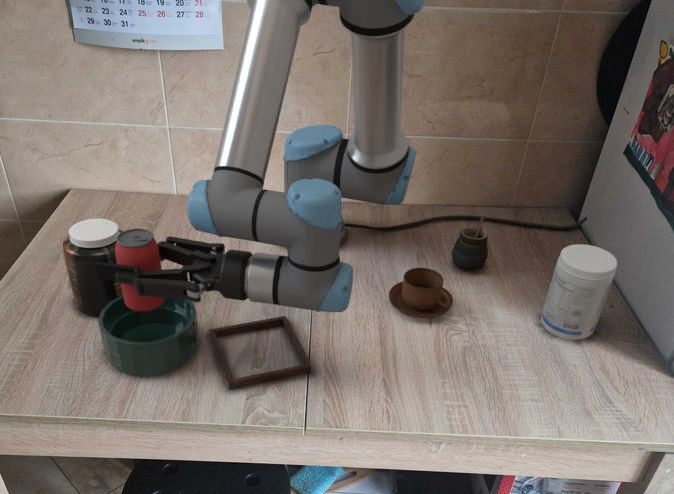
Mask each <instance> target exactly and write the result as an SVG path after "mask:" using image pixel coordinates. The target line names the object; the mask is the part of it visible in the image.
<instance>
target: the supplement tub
mask: <svg viewBox="0 0 674 494" xmlns="http://www.w3.org/2000/svg"><path fill="white" fill-rule="evenodd" d="M617 267H618V260H617V258H616V257H615V255H613V254H612V253H611V252H609V251H608V250H606V249H604V248H601V247H599V246H595V245H591V244H583V243H582V244H581V243H578V244H570V245H568V246H565V247H563V248H562V250H561V251H560V254H559V256H558V258H557V261H556V264H555V268H554V271H553V274H552V278H551V281H550V284H549V288H548V292H547V295H546V298H545V301H544V305H543V309H542V312H541V315H540V322H541V324H542V326H543V328H544V329H545V330H546V331H547V332H549V333H550V334H552V335H553V336H556V337H557V338H560V339H564V340H571V341H578V340H583V339H587V338H588V337H590V336H591V335H592V334H593V333H594V332H595V330H596V327H597V325H598V322H599V319H600V317H601V314H602V311H603V308H604V305H605V302H606V300H607V297H608V295H609V292H610V289H611V287H612V284H613V280H614V278H615V275H616V272H617Z"/></svg>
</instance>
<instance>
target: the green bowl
mask: <svg viewBox="0 0 674 494" xmlns="http://www.w3.org/2000/svg"><path fill="white" fill-rule="evenodd" d="M97 321H98V329H99V332H100V336H101V341H102V346H103V351H104V354H105V358H106V359H107V361H108V362H109V363H110V365H111V366H112V367H114V368H115V369H117V370H119V371H121V372H123V373H126V374H130V375H134V376H155V375H160V374H165V373H169V372H171V371H174V370H176V369H179V368H181V367H183V366H184V365H185V364H186V363H188V362H190V361H191V360H192V359H193V358H194V357H195V355H196V353H197V352H198V350H199V346H200V342H201V341H200V333H199V332H200V331H199V322H198V321H199V320H198V312H197V309H196V306H195V302H192V301H189V300H186V299H176V298H165V301H164V303H163V304H162V305H161V306H160V307H158V308H156V309H154V310H151V311H146V312H139V311H134V310H132V309H130V308H128V307H127V306H126V304H125V302H124V297H123V295H121V296H119V297H118V298H116V299H114V300H113V301H111V302H109V303H108V305H107V306H106V307H105V308H104V309H103V310H102V311H101V314H100V316H99V317H98V319H97Z"/></svg>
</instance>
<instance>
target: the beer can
mask: <svg viewBox="0 0 674 494" xmlns="http://www.w3.org/2000/svg"><path fill="white" fill-rule="evenodd" d="M122 231H123V232H121V233H120V234H119V235H118V236H117V238H116V241H117V242H116V246H115V254H116V260H117V264H119V265H127V266H135V267H139V271H145V270H163V269H162V262H161V261H160V254H159V248H158V244H157V243H158V242H157V241H156V238H155V237H154V236H155V235H154V234H153V232H152V231H151V230H148V229H146V228H129V229H125V230H122ZM121 286H122V291H123V297H124V302H125V304H126V306H127V307H128V308H130V309H132V310H134V311H139V312H146V311H151V310H154V309H156V308H158V307H160V306H161V305H162V304H163V303H164V301H165V298H163V297H150V296H139V295H137V292H136V286H135V285H129V284H123V283H121Z"/></svg>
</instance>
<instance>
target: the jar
mask: <svg viewBox="0 0 674 494" xmlns="http://www.w3.org/2000/svg"><path fill="white" fill-rule="evenodd" d="M123 231H124V230H122V229H120V228H119V225H118V224H117V223H116V222H115V221H113V220H110V219H106V218H88V219H84V220H81V221H78V222H76V223H74V224H73V225H71V226H70V228H69V229H68V235H66V237H65V238H64V239H63V242H62V253H63V258H64V263H65V268H66V271H67V276H68V279H69V283H70V289H71V292H72V295H73V300H74V304H75V306H76V308H77V310H78V311H79V312H81V313H82V314H84V315H87V316H90V317H95V318H99V316H100V314H101V311H102V310H103V309H104V308H105V307H106V306H107V305H108V303H109V302H111V301H113V300H114V299H116V298H118V297H119V296H121V295H123V291H122V286H121V283H117V282H115V281H107V280H100V279H99V277H98V272H97V267H96V264H97V262H104V263H111V264H117V260H116V254H115V246H116V238H117V236H118V235H119V234H120V233H121V232H123Z"/></svg>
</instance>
